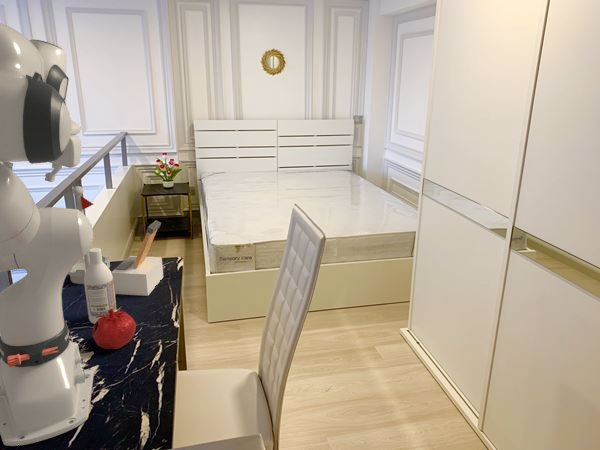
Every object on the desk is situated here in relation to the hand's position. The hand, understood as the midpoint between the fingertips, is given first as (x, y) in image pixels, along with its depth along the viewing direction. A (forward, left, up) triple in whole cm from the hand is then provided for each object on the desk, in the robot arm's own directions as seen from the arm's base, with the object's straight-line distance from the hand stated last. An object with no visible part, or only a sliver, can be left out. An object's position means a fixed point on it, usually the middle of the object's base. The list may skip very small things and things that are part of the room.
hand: (28, 175), depth 105 cm
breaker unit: (+15, -25, -40) cm, 49 cm away
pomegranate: (-14, -13, -40) cm, 45 cm away
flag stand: (+29, -12, -40) cm, 51 cm away
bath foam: (-1, -12, -40) cm, 42 cm away
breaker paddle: (+15, -25, -33) cm, 44 cm away
